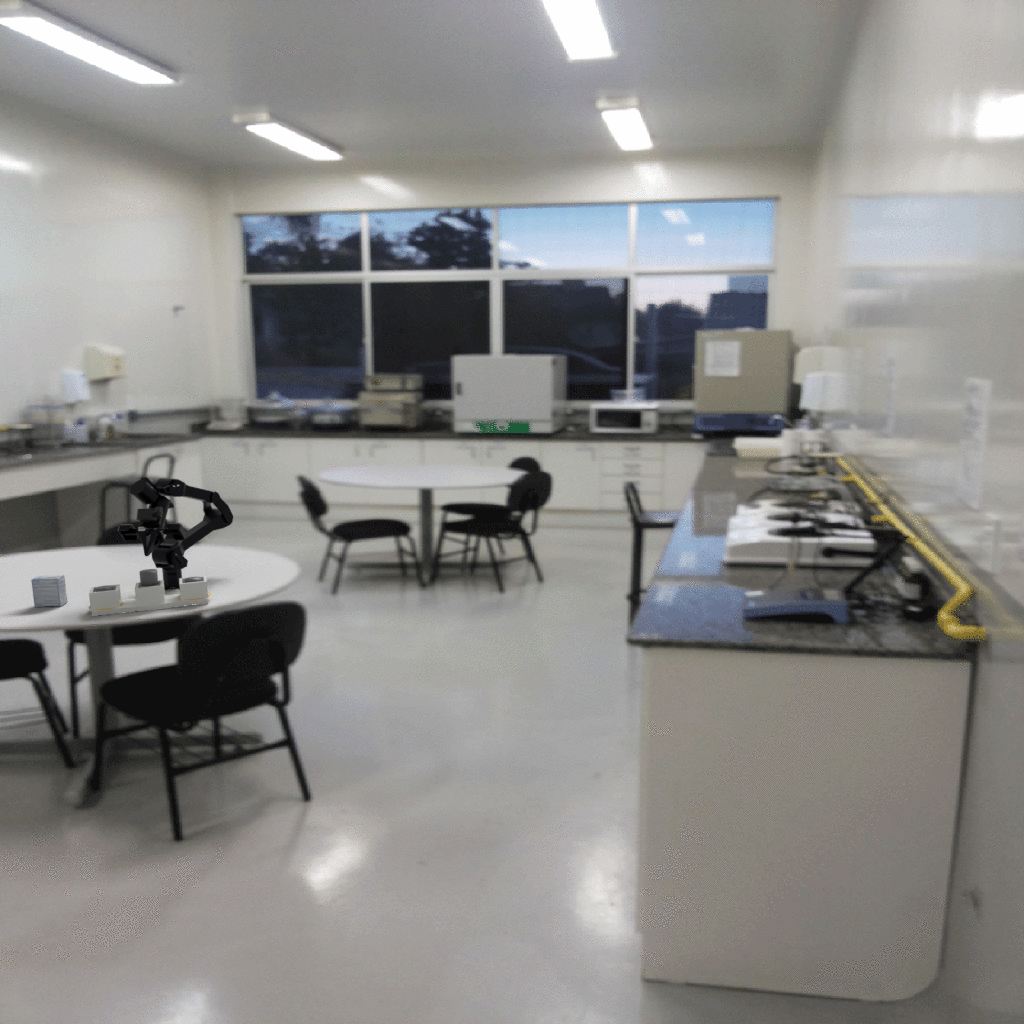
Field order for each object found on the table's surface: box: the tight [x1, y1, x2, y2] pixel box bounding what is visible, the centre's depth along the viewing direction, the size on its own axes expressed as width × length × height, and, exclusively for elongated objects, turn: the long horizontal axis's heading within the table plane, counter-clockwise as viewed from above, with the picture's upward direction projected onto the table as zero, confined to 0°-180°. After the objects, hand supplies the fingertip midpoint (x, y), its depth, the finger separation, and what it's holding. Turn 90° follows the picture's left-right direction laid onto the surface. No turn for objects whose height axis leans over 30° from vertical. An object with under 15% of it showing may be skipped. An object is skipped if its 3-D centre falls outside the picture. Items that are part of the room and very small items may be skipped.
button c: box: [95, 584, 114, 592], centre depth 254 cm, size 5×5×4 cm
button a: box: [184, 576, 202, 583], centre depth 263 cm, size 5×5×4 cm
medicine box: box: [30, 574, 69, 608], centre depth 262 cm, size 8×4×9 cm, turn 92°
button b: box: [138, 568, 159, 586], centre depth 258 cm, size 5×5×4 cm
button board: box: [88, 575, 211, 617], centre depth 259 cm, size 10×33×6 cm, turn 111°
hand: (146, 555), depth 264 cm, fingers closed
